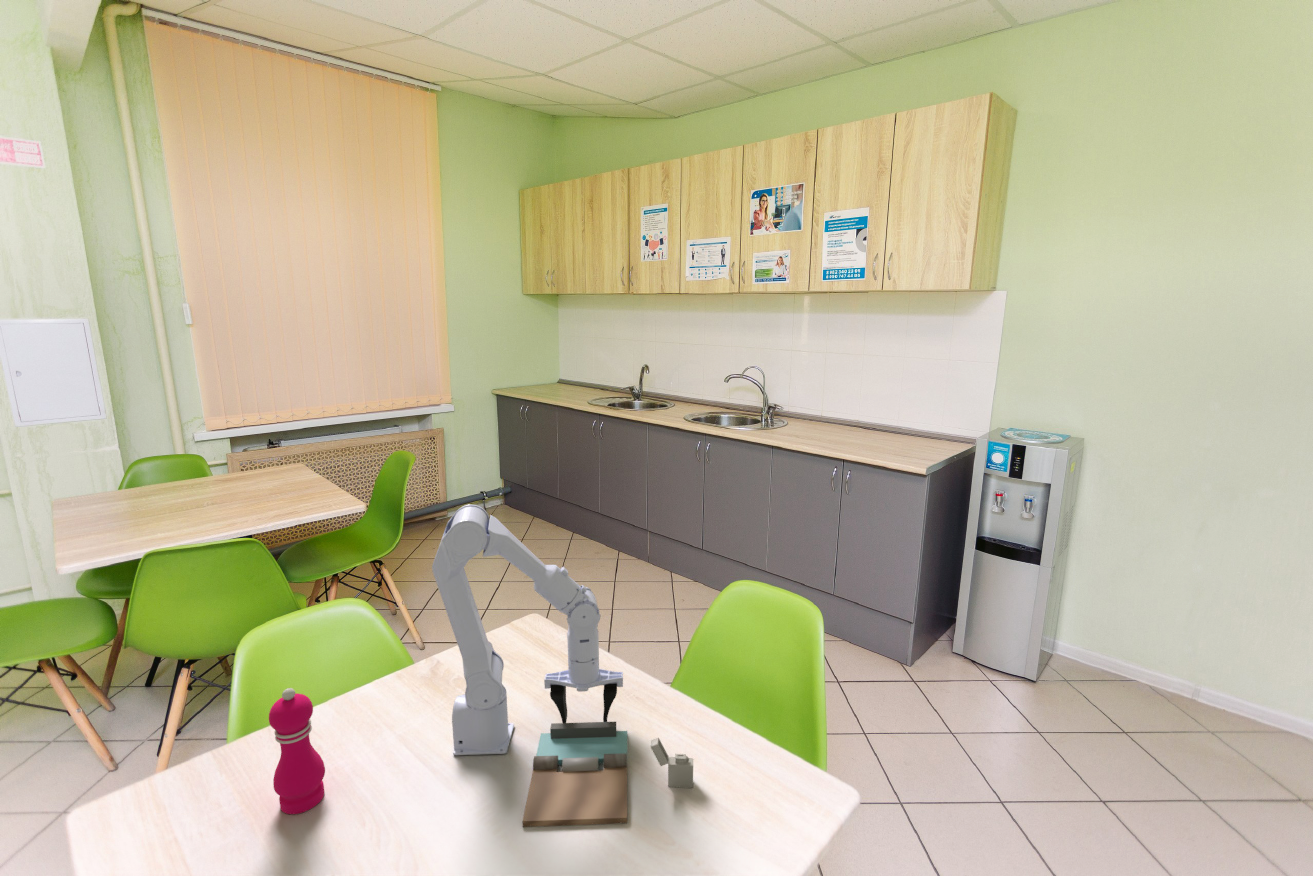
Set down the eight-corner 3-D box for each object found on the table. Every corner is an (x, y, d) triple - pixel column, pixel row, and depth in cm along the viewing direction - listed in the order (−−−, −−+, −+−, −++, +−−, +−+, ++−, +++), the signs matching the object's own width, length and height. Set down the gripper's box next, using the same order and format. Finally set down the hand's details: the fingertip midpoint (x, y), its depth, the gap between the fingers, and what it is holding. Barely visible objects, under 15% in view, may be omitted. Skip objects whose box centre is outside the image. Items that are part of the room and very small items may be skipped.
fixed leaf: (522, 826, 95) (522, 813, 95) (535, 765, 108) (534, 753, 108) (627, 823, 96) (626, 810, 96) (627, 762, 109) (627, 750, 108)
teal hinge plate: (532, 778, 105) (532, 762, 105) (541, 738, 115) (540, 723, 115) (627, 775, 106) (627, 759, 105) (627, 735, 116) (627, 721, 115)
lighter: (693, 780, 105) (693, 738, 103) (692, 788, 103) (693, 745, 101) (651, 778, 105) (651, 736, 104) (650, 785, 104) (650, 743, 102)
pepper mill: (275, 824, 96) (258, 708, 92) (278, 792, 102) (262, 683, 98) (327, 807, 99) (313, 695, 95) (327, 777, 105) (314, 671, 101)
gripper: (540, 667, 111) (543, 734, 114) (622, 665, 111) (623, 732, 114) (546, 646, 118) (548, 710, 121) (622, 644, 118) (623, 708, 121)
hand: (585, 719), depth 118 cm, fingers open, 7 cm apart
